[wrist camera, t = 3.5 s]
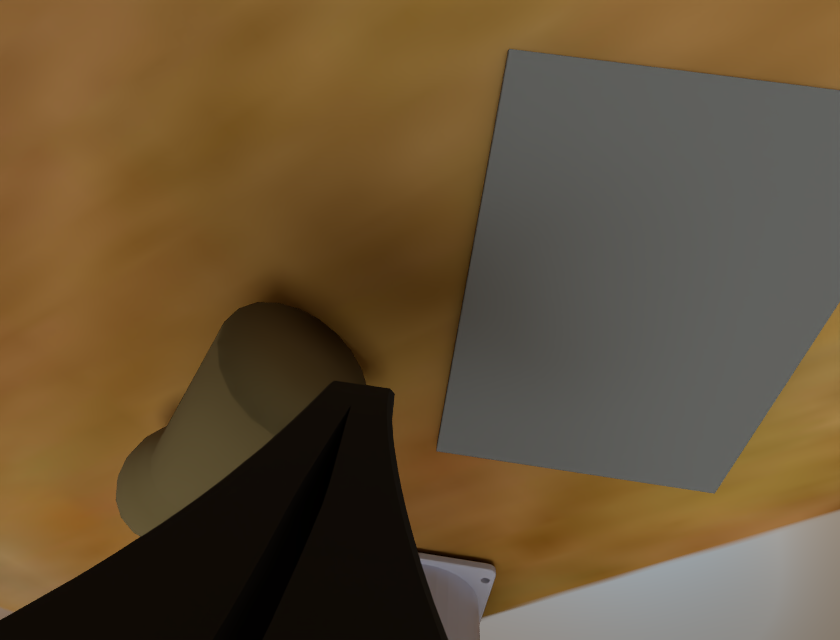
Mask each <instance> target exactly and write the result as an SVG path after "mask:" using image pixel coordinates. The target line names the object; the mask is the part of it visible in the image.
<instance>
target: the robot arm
mask: <svg viewBox="0 0 840 640" xmlns="http://www.w3.org/2000/svg"><path fill="white" fill-rule="evenodd" d="M394 395H395V394H394V393H393V391H392V390H391V389H389V388H382V387H376V386H369V385H362V384H355V383H348V382H341V381H333V382H331V383H330V384H329V385H328V386H327V387H326V388H325V389H324V390H323V391H322V392H321V393H320V394H319V395H318V396H317V397H316V398H315V399H314V400H313V401H312V402H311V403H310V404H309V405H308V406H307V407H306V408H305V409H304V410H302V411H301V412H300V413H299V414H298V415H297V416H296V417H295V418H294V419H293V420H292V421H291V422H290V423H289V424H287V425H286V426H285V427H284V428H283V429H282V430H281V431H280V432H279V433H277V434H276V435H275V436H274V437H273V438H272V439H271V440H270V441H268V442H267V443H266V444H265V445H264V446H263V447H262V448H260V449H259V450H258V451H257V452H256V453H254V454H253V455H252V456H251V457H249V458H248V459H247V460H246V461H244V462H243V463H242V464H241V465H240V466H238V467H237V468H236V469H235V470H233V471H232V472H231V473H230V474H228V475H227V476H226V477H225V478H223V479H222V480H221V481H220V482H218V483H217V484H216V485H214V486H213V487H212V488H210V489H209V490H208V491H206V492H205V493H204V494H202V495H201V496H200V497H198V498H197V499H195V500H194V501H193V502H191V503H190V504H188V505H187V506H186V507H184V508H183V509H181V510H180V511H178V512H177V513H176V514H174V515H173V516H171V517H170V518H168V519H167V520H165V521H164V522H163V523H161V524H160V525H158V526H156V527H155V528H153V529H152V530H150V531H149V532H147V533H146V534H144V535H143V536H141V537H140V538H138V539H136V540H135V541H133V542H132V543H130V544H129V545H127V546H126V547H124V548H123V549H121V550H119V551H118V552H116V553H115V554H113V555H112V556H110V557H108V558H107V559H105V560H103V561H102V562H100V563H99V564H97V565H95V566H94V567H92V568H90V569H89V570H87V571H85V572H84V573H82V574H80V575H79V576H77V577H75V578H74V579H72V580H70V581H68V582H67V583H65V584H63V585H61V586H60V587H58V588H56V589H54V590H53V591H51V592H49V593H47V594H45V595H44V596H42V597H40V598H38V599H37V600H35V601H33V602H31V603H30V604H28V605H26V606H24V607H23V608H21V609H19V610H17V611H15V612H14V613H12V614H10V615H9V616H7V617H5V618H3V619H1V620H0V640H480V635H479V624H480V621H481V618H482V615H483V612H484V609H485V606H486V603H487V600H488V597H489V594H490V591H491V588H492V585H493V583H494V580H495V577H496V571H495V567H494V566H493V565H491V564H488V563H481V562H475V561H469V560H463V559H456V558H450V557H444V556H437V555H431V554H425V553H419V552H418V551H417V547H416V544H415V541H414V537H413V533H412V530H411V526H410V522H409V518H408V515H407V511H406V506H405V502H404V497H403V493H402V489H401V484H400V479H399V474H398V468H397V461H396V455H395V448H394V440H393V428H392V415H393V405H394Z"/></svg>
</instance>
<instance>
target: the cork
mask: <svg viewBox="0 0 840 640" xmlns="http://www.w3.org/2000/svg"><path fill="white" fill-rule="evenodd" d="M333 381H341V382H348V383H355V384H362V385H366V382H365V379H364V376H363V372H362V370H361V368H360V366H359V364H358V362H357V361H356V359H355V357H354V355H353V353H352V352H351V350H350V349H349V348H348V347H347V346H346V344H345V343H344V342H343V341H342V340H341V339H340V337H339V336H338V335H337V334H336V333H335V332H334V331H332V330H331V329H330V328H329V327H327V326H326V325H325V324H324V323H323V322H321V321H320V320H319V319H317V318H315V317H313V316H311V315H310V314H308V313H306V312H304V311H302V310H300V309H298V308H294V307H291V306H287V305H284V304H281V303H263V302H257V303H254V304H251V305H248V306H245V307H242V308H239V309H238V310H237V311H236V312H235V313H233V314H232V315H231V316H230V317H229V318H228V319H227V320H226V321H225V322H224V324H223V325H222V327H221V329H220V331H219V333H218V334H217V336H216V338H215V340H214V342H213V344H212V345H211V347H210V349H209V351H208V353H207V354H206V356H205V358H204V360H203V362H202V364H201V365H200V367H199V369H198V371H197V373H196V374H195V376H194V378H193V380H192V382H191V384H190V385H189V387H188V389H187V391H186V393H185V394H184V396H183V398H182V400H181V402H180V404H179V405H178V407H177V409H176V411H175V413H174V414H173V416H172V418H171V420H170V422H169V424H168V425H167V426H166V427H164V428H162V429H160V430H158V431H156V432H155V433H153V434H151V435H149V436H147V437H146V438H145V439H144V440H143V441H142V442H141V443H140V444H139V445H138V446H137V447H136V448H135V449H134V450H133V451H132V452H131V454H130V455H129V456H128V457H127V458H126V460H125V462H124V465H123V467H122V469H121V471H120V473H119V475H118V480H117V491H116V502H117V505H118V509H119V512H120V515H121V518H122V519H123V520H124V522H125V523H126V524H127V525H128V526H129V528H130V529H131V530H132V531H133V532H134V533H135V534H137V535H139V536H143V535H144V534H146V533H147V532H149V531H150V530H152V529H153V528H155V527H156V526H158V525H160V524H161V523H163V522H164V521H165V520H167V519H168V518H170V517H171V516H173V515H174V514H176V513H177V512H178V511H180V510H181V509H183V508H184V507H186V506H187V505H188V504H190V503H191V502H193V501H194V500H195V499H197V498H198V497H200V496H201V495H202V494H204V493H205V492H206V491H208V490H209V489H210V488H212V487H213V486H214V485H216V484H217V483H218V482H220V481H221V480H222V479H223V478H225V477H226V476H227V475H228V474H230V473H231V472H232V471H233V470H235V469H236V468H237V467H238V466H240V465H241V464H242V463H243V462H244V461H246V460H247V459H248V458H249V457H251V456H252V455H253V454H254V453H256V452H257V451H258V450H259V449H260V448H262V447H263V446H264V445H265V444H266V443H267V442H268V441H270V440H271V439H272V438H273V437H274V436H275V435H276V434H277V433H279V432H280V431H281V430H282V429H283V428H284V427H285V426H286V425H287V424H289V423H290V422H291V421H292V420H293V419H294V418H295V417H296V416H297V415H298V414H299V413H300V412H301V411H302V410H304V409H305V408H306V407H307V406H308V405H309V404H310V403H311V402H312V401H313V400H314V399H315V398H316V397H317V396H318V395H319V394H320V393H321V392H322V391H323V390H324V389H325V388H326V387H327V386H328V385H329V384H330V383H331V382H333Z"/></svg>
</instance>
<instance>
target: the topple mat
mask: <svg viewBox="0 0 840 640" xmlns="http://www.w3.org/2000/svg"><path fill="white" fill-rule="evenodd" d="M839 302H840V90H832V89H824V88H816V87H808V86H800V85H792V84H784V83H776V82H768V81H760V80H752V79H744V78H736V77H728V76H720V75H713V74H705V73H697V72H689V71H681V70H673V69H665V68H657V67H649V66H641V65H633V64H625V63H617V62H609V61H601V60H593V59H585V58H577V57H569V56H561V55H553V54H545V53H537V52H529V51H521V50H513V49H509V50H508V55H507V60H506V66H505V71H504V77H503V82H502V88H501V93H500V99H499V104H498V110H497V115H496V121H495V127H494V132H493V138H492V143H491V149H490V154H489V160H488V165H487V171H486V176H485V182H484V187H483V193H482V199H481V204H480V210H479V215H478V221H477V226H476V232H475V237H474V243H473V248H472V254H471V260H470V265H469V271H468V276H467V282H466V287H465V293H464V298H463V304H462V309H461V315H460V320H459V326H458V332H457V337H456V343H455V348H454V354H453V359H452V365H451V370H450V376H449V381H448V387H447V392H446V398H445V404H444V409H443V415H442V420H441V426H440V431H439V437H438V442H437V451H439V452H446V453H452V454H459V455H466V456H472V457H479V458H485V459H492V460H498V461H505V462H512V463H518V464H525V465H531V466H538V467H544V468H551V469H558V470H564V471H571V472H577V473H584V474H590V475H597V476H603V477H610V478H617V479H623V480H630V481H636V482H643V483H649V484H656V485H663V486H669V487H676V488H682V489H689V490H695V491H702V492H709V493H715V492H716V490H717V489H718V487H719V486H720V484H721V483H722V481H723V480H724V478H725V477H726V475H727V474H728V472H729V471H730V469H731V467H732V466H733V464H734V463H735V461H736V460H737V458H738V457H739V455H740V454H741V452H742V451H743V449H744V448H745V446H746V445H747V443H748V441H749V440H750V438H751V437H752V435H753V434H754V432H755V431H756V429H757V428H758V426H759V425H760V423H761V422H762V420H763V418H764V417H765V415H766V414H767V412H768V411H769V409H770V408H771V406H772V405H773V403H774V402H775V400H776V399H777V397H778V395H779V394H780V392H781V391H782V389H783V388H784V386H785V385H786V383H787V382H788V380H789V379H790V377H791V376H792V374H793V373H794V371H795V369H796V368H797V366H798V365H799V363H800V362H801V360H802V359H803V357H804V356H805V354H806V353H807V351H808V350H809V348H810V346H811V345H812V343H813V342H814V340H815V339H816V337H817V336H818V334H819V333H820V331H821V330H822V328H823V327H824V325H825V323H826V322H827V320H828V319H829V317H830V316H831V314H832V313H833V311H834V310H835V308H836V307H837V305H838V304H839Z"/></svg>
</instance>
